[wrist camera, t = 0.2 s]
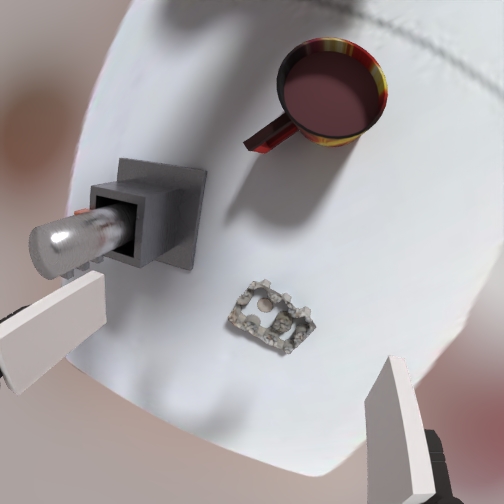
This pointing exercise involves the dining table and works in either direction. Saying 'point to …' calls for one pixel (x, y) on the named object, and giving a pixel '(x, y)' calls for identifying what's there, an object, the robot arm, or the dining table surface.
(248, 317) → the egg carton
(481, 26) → the dining table surface
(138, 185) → the stand
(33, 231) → the column
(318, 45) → the mug
